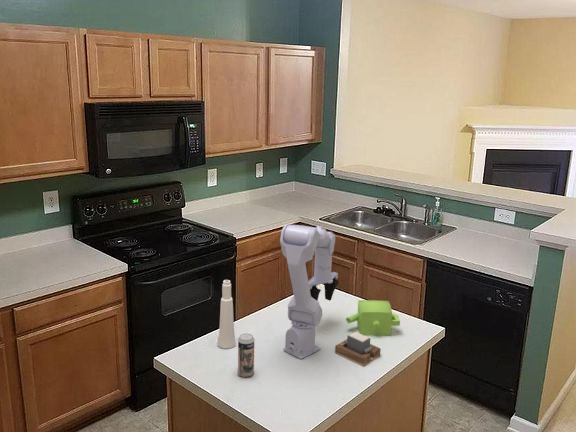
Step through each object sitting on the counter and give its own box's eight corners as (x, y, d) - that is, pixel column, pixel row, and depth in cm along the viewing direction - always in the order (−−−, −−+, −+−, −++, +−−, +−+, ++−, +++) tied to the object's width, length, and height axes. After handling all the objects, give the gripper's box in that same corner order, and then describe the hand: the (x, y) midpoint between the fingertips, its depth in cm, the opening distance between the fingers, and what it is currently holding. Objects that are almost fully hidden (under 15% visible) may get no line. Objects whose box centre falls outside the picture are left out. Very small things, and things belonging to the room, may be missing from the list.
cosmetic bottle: (237, 340, 177) (237, 277, 171) (234, 349, 171) (234, 285, 165) (219, 339, 177) (219, 276, 172) (215, 348, 172) (215, 284, 166)
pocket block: (363, 366, 164) (363, 358, 163) (334, 352, 171) (335, 345, 171) (380, 355, 170) (380, 348, 170) (352, 343, 178) (352, 336, 177)
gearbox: (346, 338, 182) (347, 313, 179) (344, 323, 191) (345, 299, 188) (400, 339, 182) (402, 314, 179) (395, 324, 191) (397, 300, 188)
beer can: (240, 379, 155) (241, 342, 152) (235, 371, 159) (235, 334, 156) (256, 376, 157) (257, 339, 154) (250, 367, 161) (251, 331, 158)
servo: (364, 360, 166) (366, 343, 165) (343, 350, 172) (344, 333, 170) (372, 355, 169) (373, 339, 168) (350, 345, 175) (352, 329, 173)
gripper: (317, 274, 174) (315, 312, 177) (345, 263, 184) (343, 300, 188) (301, 268, 178) (300, 305, 182) (329, 258, 188) (327, 294, 192)
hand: (321, 302), depth 185 cm, fingers open, 7 cm apart
